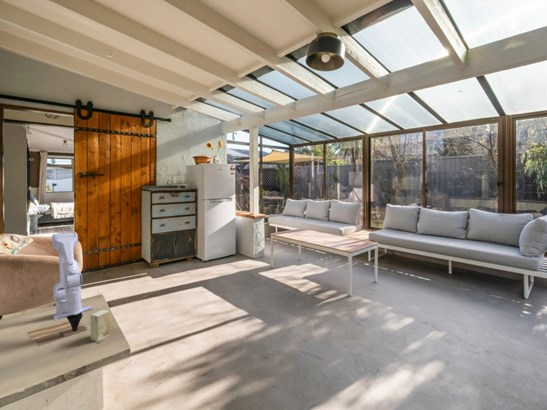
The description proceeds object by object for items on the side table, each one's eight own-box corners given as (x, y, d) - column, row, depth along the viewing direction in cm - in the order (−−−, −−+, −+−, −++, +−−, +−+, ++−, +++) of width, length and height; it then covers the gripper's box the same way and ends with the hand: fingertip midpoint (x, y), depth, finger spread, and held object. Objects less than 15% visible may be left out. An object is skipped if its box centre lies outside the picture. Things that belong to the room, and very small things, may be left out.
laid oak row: (26, 334, 128) (26, 332, 128) (74, 320, 143) (74, 318, 142) (32, 342, 122) (31, 340, 122) (81, 326, 136) (81, 324, 136)
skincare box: (97, 344, 122) (97, 316, 121) (90, 342, 123) (89, 315, 123) (110, 336, 128) (110, 310, 127) (103, 335, 130) (102, 309, 129)
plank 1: (34, 342, 122) (34, 339, 122) (58, 334, 129) (58, 332, 129) (39, 348, 118) (38, 345, 118) (63, 340, 125) (63, 337, 125)
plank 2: (59, 334, 129) (59, 331, 129) (81, 327, 136) (81, 324, 136) (64, 337, 125) (64, 334, 125) (86, 329, 131) (86, 327, 131)
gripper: (56, 308, 120) (57, 339, 120) (95, 298, 131) (96, 327, 132) (51, 304, 124) (53, 334, 125) (89, 294, 135) (90, 322, 136)
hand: (74, 330), depth 129 cm, fingers closed, pressing on plank 2
